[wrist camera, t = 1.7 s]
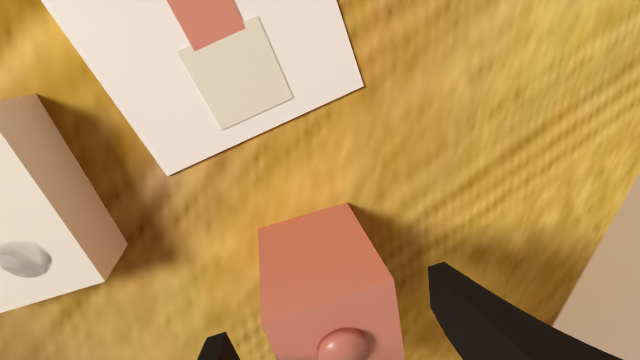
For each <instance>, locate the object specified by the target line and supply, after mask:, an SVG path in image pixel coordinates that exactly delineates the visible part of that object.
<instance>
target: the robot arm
mask: <svg viewBox="0 0 640 360" xmlns="http://www.w3.org/2000/svg"><path fill="white" fill-rule="evenodd" d="M428 276H429V291H430V306H431V309H432V311H433V313H434V315H435V317H436V318H437V320H438V322H439V324H440V326H441V327H442V329H443V331H444V333H445V334H446V336H447V337H448V339H449V340H450V342H451V343H452V345H453V346H454V347H455V349H456V350H457V352H458V353H459V355H460V356H461V357H462V359H463V360H623V359H620V358H618V357H615V356H613V355H611V354H608V353H606V352H604V351H601V350H599V349H597V348H595V347H592V346H590V345H588V344H586V343H584V342H582V341H580V340H578V339H576V338H574V337H572V336H569V335H567V334H565V333H563V332H561V331H559V330H557V329H555V328H553V327H552V326H550V325H548V324H546V323H544V322H542V321H540V320H538V319H537V318H535V317H533V316H531V315H529V314H527V313H526V312H524V311H522V310H520V309H519V308H517V307H515V306H513V305H512V304H510V303H508V302H507V301H505V300H503V299H502V298H500V297H498V296H497V295H495V294H493V293H492V292H490V291H489V290H487V289H485V288H484V287H482V286H481V285H479V284H478V283H476V282H474V281H473V280H471V279H470V278H468V277H467V276H465V275H464V274H462V273H461V272H459V271H457V270H456V269H454V268H453V267H451V266H450V265H448V264H447V263H445V262H442V263H439V264H436V265H433V266H429V267H428ZM197 360H240V359H239V357H238V355H237V353H236V351H235V349H234V347H233V345H232V343H231V341H230V339H229V337H228V335H227V333H226V332H224V333H220V334H217V335H214V336H211V337H208V338H207V339H206V341H205V343H204V345H203V347H202V350H201V352H200V354H199V356H198V359H197Z"/></svg>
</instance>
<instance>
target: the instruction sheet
mask: <svg viewBox="0 0 640 360" xmlns="http://www.w3.org/2000/svg"><path fill="white" fill-rule="evenodd" d="M41 1H42V3H43V4H44V6H45V7H46V8H47V10H48V11H49V13H50V14H51V15H52V17H53V18H54V20H55V21H56V22H57V24H58V25H59V26H60V28H61V29H62V31H63V32H64V33H65V35H66V36H67V38H68V39H69V40H70V42H71V43H72V45H73V46H74V47H75V49H76V50H77V51H78V53H79V54H80V56H81V57H82V58H83V60H84V61H85V63H86V64H87V65H88V67H89V68H90V70H91V71H92V72H93V74H94V75H95V76H96V78H97V79H98V81H99V82H100V83H101V85H102V86H103V88H104V89H105V90H106V92H107V93H108V95H109V96H110V97H111V99H112V100H113V101H114V103H115V104H116V106H117V107H118V108H119V110H120V111H121V113H122V114H123V115H124V117H125V118H126V120H127V121H128V122H129V124H130V125H131V126H132V128H133V129H134V131H135V132H136V133H137V135H138V136H139V138H140V139H141V140H142V142H143V143H144V145H145V146H146V147H147V149H148V150H149V151H150V153H151V154H152V156H153V157H154V158H155V160H156V161H157V163H158V164H159V165H160V167H161V168H162V170H163V171H164V172H165V174H166V175H167V176H169V175H171V174H173V173H175V172H178V171H180V170H182V169H184V168H186V167H188V166H191V165H193V164H195V163H197V162H199V161H202V160H204V159H206V158H208V157H210V156H212V155H215V154H217V153H219V152H221V151H223V150H226V149H228V148H230V147H232V146H234V145H236V144H239V143H241V142H243V141H245V140H247V139H250V138H252V137H254V136H256V135H258V134H260V133H263V132H265V131H267V130H269V129H271V128H274V127H276V126H278V125H280V124H282V123H284V122H287V121H289V120H291V119H293V118H295V117H298V116H300V115H302V114H304V113H306V112H308V111H311V110H313V109H315V108H317V107H319V106H322V105H324V104H326V103H328V102H330V101H332V100H335V99H337V98H339V97H341V96H343V95H346V94H348V93H350V92H352V91H354V90H356V89H359V88H361V87H363V86H364V85H363V82H362V79H361V76H360V72H359V69H358V66H357V63H356V60H355V57H354V54H353V51H352V47H351V44H350V41H349V38H348V35H347V32H346V29H345V26H344V22H343V19H342V16H341V13H340V10H339V7H338V4H337V1H336V0H41Z"/></svg>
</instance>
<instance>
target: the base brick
mask: <svg viewBox="0 0 640 360" xmlns="http://www.w3.org/2000/svg"><path fill="white" fill-rule="evenodd" d="M127 245H128V243H127V242H126V240H125V238H124V237H123V235H122V234H121V232H120V230H119V229H118V227H117V225H116V224H115V222H114V220H113V219H112V217H111V216H110V214H109V212H108V211H107V209H106V207H105V206H104V204H103V203H102V201H101V199H100V198H99V196H98V194H97V193H96V191H95V189H94V188H93V186H92V185H91V183H90V181H89V180H88V178H87V176H86V175H85V173H84V171H83V170H82V168H81V167H80V165H79V163H78V162H77V160H76V158H75V157H74V155H73V154H72V152H71V150H70V149H69V147H68V145H67V144H66V142H65V140H64V139H63V137H62V136H61V134H60V132H59V131H58V129H57V127H56V126H55V124H54V123H53V121H52V119H51V118H50V116H49V114H48V113H47V111H46V109H45V108H44V106H43V105H42V103H41V101H40V100H39V98H38V96H37V95H36V93H35V94H31V95H26V96H22V97H17V98H12V99H8V100H3V101H0V313H2V312H5V311H9V310H12V309H15V308H19V307H22V306H25V305H29V304H32V303H35V302H39V301H42V300H45V299H49V298H52V297H55V296H59V295H62V294H65V293H69V292H72V291H75V290H79V289H82V288H85V287H89V286H92V285H95V284H99V283H102V282H105V281H106V279H107V278H108V276H109V275H110V273H111V271H112V270H113V268H114V266H115V265H116V263H117V262H118V260H119V258H120V257H121V255H122V253H123V252H124V250H125V249H126V247H127Z"/></svg>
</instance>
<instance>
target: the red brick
mask: <svg viewBox="0 0 640 360" xmlns="http://www.w3.org/2000/svg"><path fill="white" fill-rule="evenodd" d="M258 237H259V267H260V297H261V324H262V326H263V328H264V331H265V333H266V335H267V338H268V340H269V342H270V345H271V347H272V349H273V352H274V354H275V356H276V359H277V360H405V355H404V348H403V341H402V333H401V326H400V319H399V311H398V304H397V297H396V289H395V282H394V279H393V277H392V276H391V274H390V272H389V271H388V269H387V268H386V266H385V264H384V263H383V261H382V259H381V258H380V256H379V254H378V253H377V251H376V249H375V248H374V246H373V245H372V243H371V241H370V240H369V238H368V236H367V235H366V233H365V231H364V230H363V228H362V226H361V225H360V223H359V222H358V220H357V218H356V217H355V215H354V213H353V212H352V210H351V208H350V207H349V205H348V204H347V203H344V204H341V205H337V206H334V207H330V208H327V209H324V210H320V211H317V212H313V213H310V214H307V215H303V216H300V217H296V218H293V219H290V220H286V221H283V222H279V223H276V224H273V225H269V226H266V227H262V228H259V229H258Z"/></svg>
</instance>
